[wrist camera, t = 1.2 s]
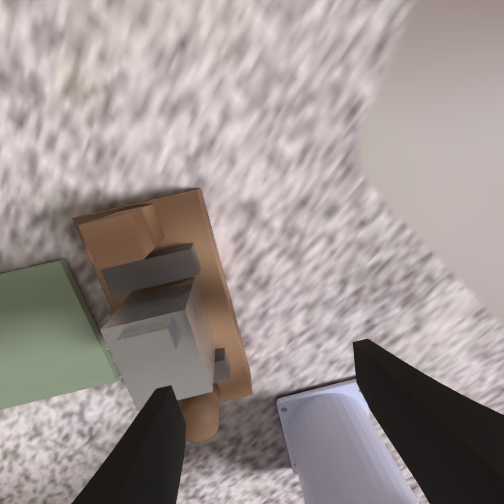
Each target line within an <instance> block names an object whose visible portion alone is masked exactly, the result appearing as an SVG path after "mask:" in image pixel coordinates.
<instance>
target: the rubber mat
mask: <svg viewBox="0 0 504 504" xmlns="http://www.w3.org/2000/svg"><path fill="white" fill-rule="evenodd" d="M119 376H120V374H119V372H118V370H117V368H116V365H115V363H114V361H113V359H112V357H111V355H110V353H109V351H108V348H107V346H106V344H105V342H104V340H103V338H102V336H101V334H100V331H99V329H98V327H97V325H96V323H95V321H94V319H93V317H92V314H91V312H90V310H89V308H88V306H87V304H86V302H85V300H84V297H83V295H82V293H81V291H80V289H79V287H78V285H77V283H76V280H75V278H74V276H73V274H72V272H71V270H70V268H69V266H68V263H67V261H66V259H62V260H57V261H53V262H49V263H44V264H40V265H36V266H31V267H27V268H23V269H19V270H14V271H10V272H6V273H1V274H0V410H2V409H6V408H10V407H14V406H18V405H22V404H26V403H30V402H34V401H38V400H42V399H46V398H50V397H54V396H58V395H62V394H66V393H70V392H75V391H79V390H83V389H87V388H91V387H95V386H99V385H103V384H107V383H111V382H115V381H117V380H118V378H119Z"/></svg>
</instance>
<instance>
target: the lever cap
mask: <svg viewBox="0 0 504 504" xmlns="http://www.w3.org/2000/svg"><path fill="white" fill-rule="evenodd" d="M100 331H101V333H102V335H103V337H104V339H105V342H106V344H107V346H108V348H109V350H110V352H111V354H112V356H113V359H114V361H115V363H116V365H117V367H118V369H119V371H120V374H121V376H122V378H123V380H124V382H125V384H126V386H127V388H128V391H129V393H130V395H131V397H132V399H133V401H134V403H135V406H136V408H137V410H141V409H142V408H143V406H144V405H145V403H146V402H147V400H148V399H149V398H150V396H151V395H152V393H153V392H154V390H155V389H157V388H161V387H165V386H170V385H172V388H173V391H174V393H175V396H176V399H177V400H181V399H185V398H189V397H193V396H197V395H201V394H205V393H209V392H213V379H214V363H215V347H216V343H215V339H214V336H213V333H212V330H211V326H210V323H209V320H208V317H207V314H206V310H205V307H204V304H203V301H202V297H201V294H200V291H199V288H198V284H197V281H196V278H195V277H193V278H189V279H185V280H180V281H176V282H172V283H168V284H164V285H159V286H155V287H151V288H147V289H142V290H138V291H134V292H131V293H130V294H129V296H128V297H127V298H126V299H125V300H124V302H123V303H122V304H121V305H120V307H119V308H118V309H117V310H116V311H115V313H114V314H113V315H112V316H111V318H110V319H109V320H108V321H107V323H106V324H105V325H104V326H103V327H102V329H101V330H100Z"/></svg>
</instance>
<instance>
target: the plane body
mask: <svg viewBox="0 0 504 504" xmlns="http://www.w3.org/2000/svg"><path fill="white" fill-rule="evenodd" d="M72 219H73V221H74V224H75V226H76V228H77V231H78V233H79V235H80V237H81V240H82V242H83V244H84V247H85V249H86V251H87V253H88V256H89V258H90V260H91V263H92V265H93V267H94V269H95V272H96V274H97V276H98V278H99V281H100V283H101V285H102V288H103V290H104V292H105V294H106V297H107V299H108V301H109V304H110V306H111V308H112V310H113V313H115V311H116V310H117V309H118V308H119V307H120V305H121V304H122V303H123V302H124V300H125V299H126V298H127V297H128V296H129V294H130V293H131V292H134V291H138V290H142V289H147V288H151V287H155V286H159V285H164V284H168V283H172V282H176V281H180V280H185V279H189V278H193V277H195V278H196V281H197V284H198V288H199V291H200V294H201V297H202V301H203V304H204V307H205V310H206V314H207V317H208V320H209V323H210V326H211V330H212V333H213V336H214V339H215V343H216V347H215V363H214V379H213V392H209V393H205V394H201V395H197V396H193V397H189V398H185V399H181V400H177V401H178V404H179V407H180V409H181V412H182V415H183V417H184V420H185V422H186V435H185V440H187V441H190V442H202V441H206V440H208V439H210V438H212V437H213V436H214V435H215V434H216V432H217V431H218V428H219V403H220V402H224V401H227V400H231V399H235V398H239V397H243V396H247V395H251V394H253V392H252V384H251V375H250V368H249V365H248V361H247V357H246V354H245V350H244V346H243V342H242V339H241V335H240V331H239V328H238V324H237V320H236V316H235V313H234V309H233V305H232V302H231V298H230V294H229V290H228V287H227V283H226V279H225V276H224V272H223V268H222V265H221V261H220V257H219V253H218V250H217V246H216V242H215V239H214V235H213V231H212V227H211V224H210V220H209V216H208V213H207V209H206V205H205V202H204V198H203V194H202V190H201V188H199V189H195V190H191V191H186V192H182V193H177V194H173V195H169V196H164V197H160V198H155V199H151V200H147V201H142V202H138V203H133V204H129V205H124V206H120V207H116V208H111V209H107V210H102V211H98V212H94V213H90V214H87V215H83V216H80V217H76V218H72Z"/></svg>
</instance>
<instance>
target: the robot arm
mask: <svg viewBox="0 0 504 504" xmlns="http://www.w3.org/2000/svg"><path fill="white" fill-rule="evenodd" d="M353 350H354V361H355V372H356V379H353V380H349V381H345V382H341V383H337V384H333V385H329V386H325V387H321V388H317V389H313V390H309V391H305V392H301V393H298V394H294V395H290V396H286V397H282V398H279V399H278V400H277V408H278V412H279V416H280V420H281V424H282V429H283V433H284V437H285V441H286V445H287V449H288V453H289V457H290V462H291V466H292V470H293V473H294V474H296V475H298V476H299V480H300V484H301V489H302V493H303V497H304V501H305V504H419V502H418V500H417V499H416V497H415V495H414V494H413V492H412V490H411V489H410V487H409V485H408V483H407V482H406V480H405V478H404V477H403V475H402V473H401V472H400V470H399V468H398V466H397V465H396V463H395V461H394V460H393V458H392V456H391V455H390V453H389V451H388V449H387V448H386V446H385V444H384V443H383V441H382V439H381V438H380V436H379V434H378V432H377V431H376V429H375V427H374V426H373V424H372V422H371V421H370V417H369V408H370V410H371V412H372V413H373V415H374V417H375V418H376V420H377V421H378V423H379V424H380V426H381V427H382V429H383V430H384V432H385V434H386V435H387V437H388V438H389V440H390V441H391V443H392V444H393V446H394V447H395V449H396V450H397V452H398V453H399V455H400V456H401V458H402V459H403V461H404V463H405V464H406V466H407V467H408V469H409V470H410V472H411V473H412V475H413V476H414V478H415V480H416V481H417V483H418V484H419V486H420V488H421V489H422V491H423V493H424V494H425V496H426V498H427V500H428V502H429V503H430V504H504V415H502V414H500V413H498V412H496V411H494V410H492V409H490V408H488V407H485V406H483V405H481V404H479V403H477V402H475V401H473V400H471V399H469V398H467V397H465V396H463V395H461V394H460V393H458V392H456V391H454V390H452V389H450V388H448V387H447V386H445V385H443V384H441V383H439V382H438V381H436V380H434V379H432V378H431V377H429V376H427V375H425V374H424V373H422V372H420V371H419V370H417V369H415V368H414V367H412V366H410V365H409V364H407V363H405V362H404V361H402V360H401V359H399V358H397V357H396V356H394V355H393V354H391V353H390V352H388V351H386V350H385V349H383V348H382V347H380V346H379V345H377V344H375V343H374V342H372V341H371V340H369V339H364V340H360V341H356V342H353ZM284 407H285V408H284ZM185 435H186V422H185V420H184V417H183V415H182V412H181V409H180V407H179V404H178V401H177V399H176V396H175V393H174V391H173V388H172V385H170V386H165V387H161V388H157V389H155V390H154V392H153V393H152V395H151V396H150V398H149V399H148V400H147V402H146V403H145V405H144V406H143V408H142V409H141V411H140V412H139V414H138V415H137V417H136V418H135V419H134V421H133V422H132V424H131V425H130V427H129V428H128V430H127V431H126V432H125V434H124V435H123V437H122V438H121V439H120V441H119V442H118V444H117V445H116V447H115V448H114V449H113V451H112V452H111V453H110V455H109V456H108V457H107V459H106V460H105V461H104V463H103V464H102V465H101V467H100V468H99V469H98V471H97V472H96V473H95V475H94V476H93V477H92V479H91V480H90V481H89V482H88V484H87V485H86V486H85V487H84V489H83V490H82V491H81V492H80V494H79V495H78V496H77V497H76V499H75V500H74V501H73V502H72V503H71V504H176V500H177V494H178V489H179V483H180V477H181V471H182V465H183V459H184V449H185Z"/></svg>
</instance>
